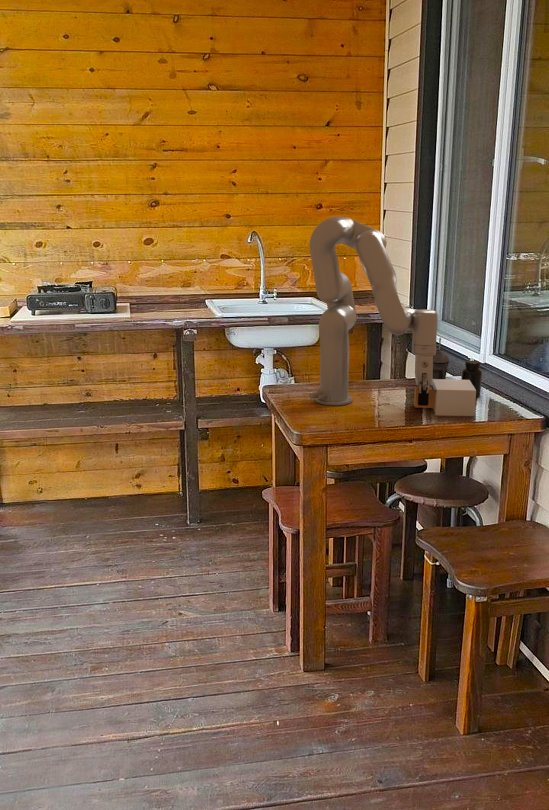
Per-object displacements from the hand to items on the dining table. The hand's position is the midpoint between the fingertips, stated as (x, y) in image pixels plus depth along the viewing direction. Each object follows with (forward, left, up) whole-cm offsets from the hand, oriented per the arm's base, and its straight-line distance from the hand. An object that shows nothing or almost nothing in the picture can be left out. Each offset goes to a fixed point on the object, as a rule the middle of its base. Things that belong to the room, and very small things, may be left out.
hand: (421, 401), depth 242 cm
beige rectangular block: (+7, -7, -3) cm, 10 cm away
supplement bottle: (+26, 0, -3) cm, 26 cm away
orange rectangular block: (+3, -3, -2) cm, 4 cm away
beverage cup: (+19, +9, -3) cm, 21 cm away
